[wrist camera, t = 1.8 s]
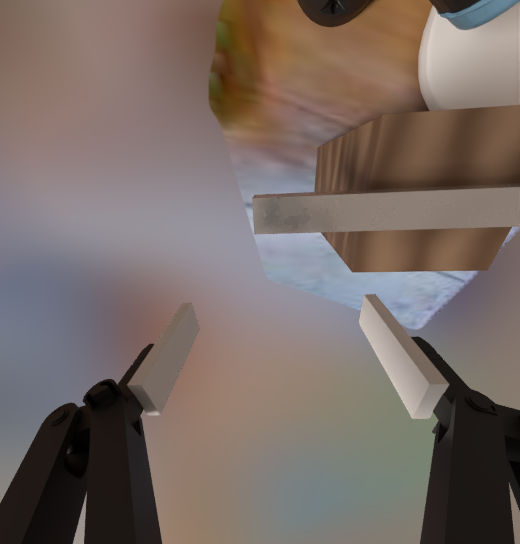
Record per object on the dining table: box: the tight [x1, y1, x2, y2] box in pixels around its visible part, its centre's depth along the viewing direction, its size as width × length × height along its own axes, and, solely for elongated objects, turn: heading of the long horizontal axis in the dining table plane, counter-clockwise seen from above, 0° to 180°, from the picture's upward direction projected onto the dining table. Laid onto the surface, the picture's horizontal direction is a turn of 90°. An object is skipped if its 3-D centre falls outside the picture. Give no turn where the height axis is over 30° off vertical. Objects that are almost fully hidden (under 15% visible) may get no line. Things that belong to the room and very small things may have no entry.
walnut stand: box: [315, 105, 520, 272], centre depth 33 cm, size 16×16×28 cm
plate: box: [418, 2, 520, 111], centre depth 30 cm, size 28×6×27 cm
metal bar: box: [252, 183, 520, 234], centre depth 19 cm, size 32×4×3 cm, turn 93°
